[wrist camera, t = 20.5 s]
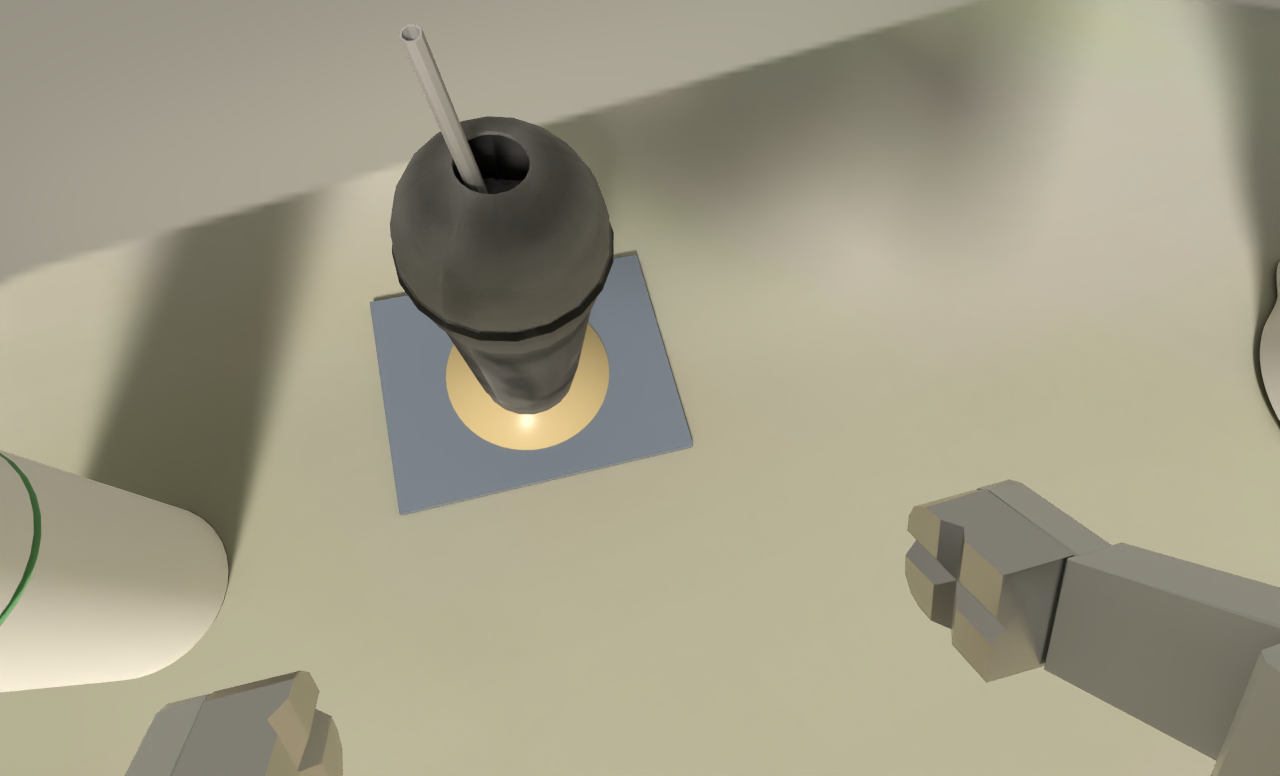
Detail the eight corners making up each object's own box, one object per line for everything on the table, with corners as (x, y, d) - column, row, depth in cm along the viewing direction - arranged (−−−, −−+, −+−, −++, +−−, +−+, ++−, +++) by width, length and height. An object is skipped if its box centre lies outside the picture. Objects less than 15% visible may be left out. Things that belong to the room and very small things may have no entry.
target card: (635, 258, 36) (636, 253, 35) (691, 447, 32) (693, 444, 32) (372, 305, 33) (368, 301, 33) (401, 515, 30) (399, 513, 30)
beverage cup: (627, 403, 32) (697, 89, 14) (489, 468, 31) (354, 207, 12) (563, 285, 34) (549, -129, 16) (430, 339, 33) (236, -55, 14)
